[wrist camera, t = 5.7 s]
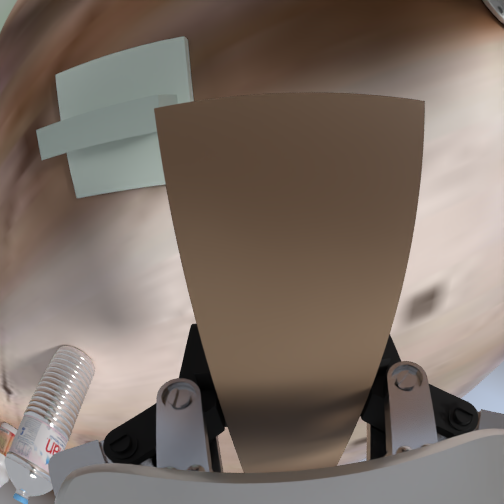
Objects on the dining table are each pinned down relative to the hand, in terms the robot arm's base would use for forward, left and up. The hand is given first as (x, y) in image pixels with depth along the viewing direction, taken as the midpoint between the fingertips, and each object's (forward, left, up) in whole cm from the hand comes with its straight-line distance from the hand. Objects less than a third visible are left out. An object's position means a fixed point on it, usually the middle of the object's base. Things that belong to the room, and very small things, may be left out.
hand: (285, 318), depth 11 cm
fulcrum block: (+11, -8, -16) cm, 21 cm away
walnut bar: (0, 0, -1) cm, 1 cm away
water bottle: (+29, +22, -16) cm, 40 cm away
